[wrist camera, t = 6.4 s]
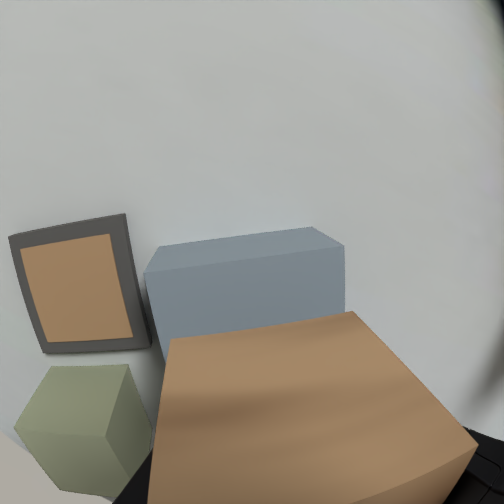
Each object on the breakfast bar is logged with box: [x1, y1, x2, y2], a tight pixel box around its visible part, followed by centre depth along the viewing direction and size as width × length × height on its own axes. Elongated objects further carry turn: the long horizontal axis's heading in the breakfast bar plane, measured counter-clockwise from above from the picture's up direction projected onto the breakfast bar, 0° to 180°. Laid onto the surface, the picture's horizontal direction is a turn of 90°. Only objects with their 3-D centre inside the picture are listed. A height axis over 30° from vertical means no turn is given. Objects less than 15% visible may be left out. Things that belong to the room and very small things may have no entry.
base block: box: [144, 227, 345, 363], centre depth 14 cm, size 7×7×4 cm
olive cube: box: [14, 364, 152, 497], centre depth 13 cm, size 5×5×6 cm
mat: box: [8, 213, 152, 353], centre depth 14 cm, size 6×6×1 cm
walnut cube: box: [147, 311, 479, 504], centre depth 6 cm, size 5×5×6 cm
